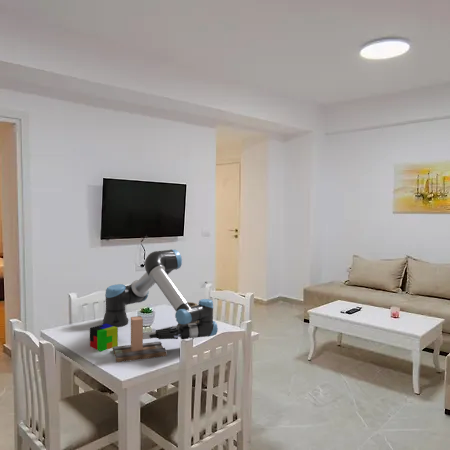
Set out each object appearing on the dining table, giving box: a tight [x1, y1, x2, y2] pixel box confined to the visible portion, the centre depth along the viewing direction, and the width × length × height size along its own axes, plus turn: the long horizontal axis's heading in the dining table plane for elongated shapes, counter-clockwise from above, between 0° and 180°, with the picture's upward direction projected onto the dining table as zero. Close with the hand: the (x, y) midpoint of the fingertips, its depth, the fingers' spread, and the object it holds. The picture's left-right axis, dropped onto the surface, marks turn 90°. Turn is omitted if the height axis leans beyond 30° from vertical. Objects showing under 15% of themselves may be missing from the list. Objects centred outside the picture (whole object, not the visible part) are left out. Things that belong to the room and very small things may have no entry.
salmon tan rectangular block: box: [130, 315, 144, 352], centre depth 204 cm, size 5×6×16 cm
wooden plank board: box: [112, 341, 168, 363], centre depth 206 cm, size 24×16×2 cm, turn 112°
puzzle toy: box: [89, 323, 119, 352], centre depth 214 cm, size 10×10×10 cm
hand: (142, 336), depth 205 cm, fingers closed
